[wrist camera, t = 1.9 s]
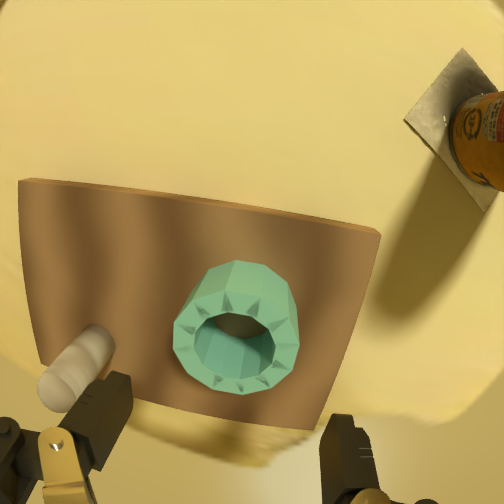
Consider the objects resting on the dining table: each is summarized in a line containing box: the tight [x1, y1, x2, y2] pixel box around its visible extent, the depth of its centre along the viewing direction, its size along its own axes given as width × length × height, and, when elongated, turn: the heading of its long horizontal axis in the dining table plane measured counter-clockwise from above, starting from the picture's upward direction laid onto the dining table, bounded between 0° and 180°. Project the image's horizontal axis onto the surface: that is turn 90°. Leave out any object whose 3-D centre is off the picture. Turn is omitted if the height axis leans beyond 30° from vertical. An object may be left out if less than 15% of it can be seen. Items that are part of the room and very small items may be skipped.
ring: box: [173, 260, 300, 395], centre depth 17 cm, size 6×6×4 cm
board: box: [18, 178, 381, 430], centre depth 17 cm, size 24×16×9 cm, turn 81°
